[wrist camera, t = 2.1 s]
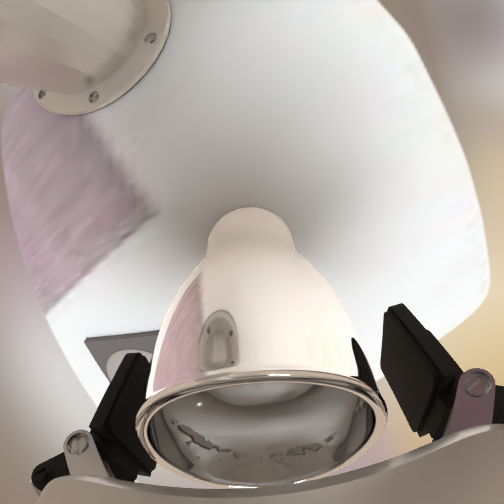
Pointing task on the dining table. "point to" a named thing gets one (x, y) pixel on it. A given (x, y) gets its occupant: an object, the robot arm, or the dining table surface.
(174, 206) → the dining table surface
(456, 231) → the dining table surface
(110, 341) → the mat
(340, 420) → the beer glass
